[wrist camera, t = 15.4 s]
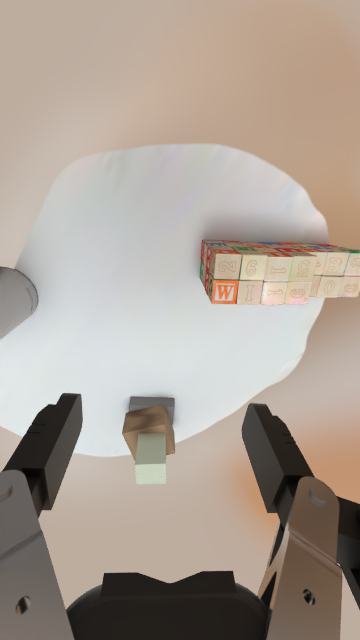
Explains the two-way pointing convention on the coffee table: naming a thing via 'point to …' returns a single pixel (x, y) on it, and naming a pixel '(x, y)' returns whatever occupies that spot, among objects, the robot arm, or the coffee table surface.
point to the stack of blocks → (277, 272)
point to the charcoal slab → (152, 404)
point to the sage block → (151, 458)
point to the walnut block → (148, 427)
